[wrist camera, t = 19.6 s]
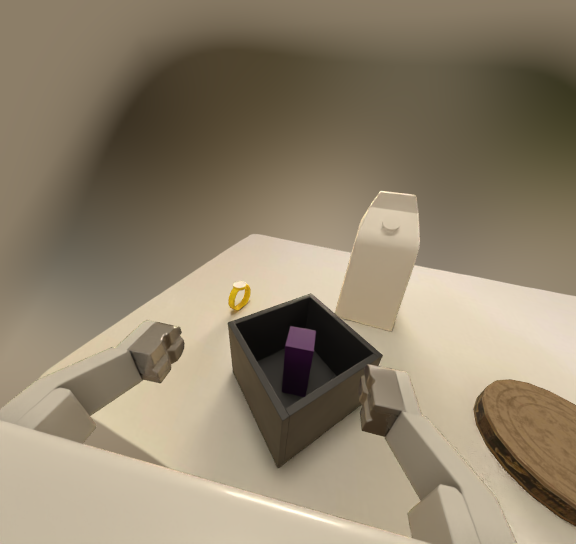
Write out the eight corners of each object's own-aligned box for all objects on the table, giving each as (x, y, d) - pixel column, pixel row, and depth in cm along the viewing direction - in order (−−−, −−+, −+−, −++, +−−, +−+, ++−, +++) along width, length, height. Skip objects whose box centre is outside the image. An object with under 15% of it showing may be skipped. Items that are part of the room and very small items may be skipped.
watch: (236, 316, 47) (235, 293, 44) (226, 311, 48) (224, 289, 45) (253, 301, 52) (252, 280, 49) (243, 297, 53) (242, 276, 50)
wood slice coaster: (454, 427, 31) (464, 416, 29) (495, 373, 39) (505, 362, 37) (646, 596, 20) (679, 592, 18) (649, 472, 28) (671, 462, 26)
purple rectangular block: (305, 397, 32) (313, 351, 27) (281, 392, 33) (285, 345, 28) (308, 375, 35) (316, 330, 30) (286, 371, 36) (290, 325, 31)
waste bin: (277, 468, 26) (282, 421, 20) (232, 371, 36) (227, 322, 31) (362, 403, 33) (382, 355, 27) (304, 337, 43) (311, 293, 38)
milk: (389, 300, 56) (429, 192, 42) (391, 331, 46) (443, 205, 33) (341, 288, 59) (364, 184, 45) (334, 315, 49) (360, 194, 36)
